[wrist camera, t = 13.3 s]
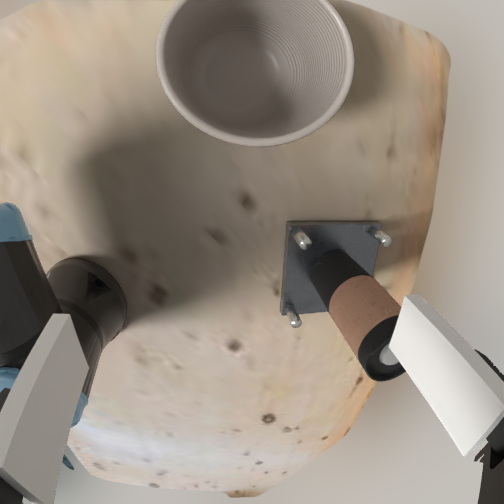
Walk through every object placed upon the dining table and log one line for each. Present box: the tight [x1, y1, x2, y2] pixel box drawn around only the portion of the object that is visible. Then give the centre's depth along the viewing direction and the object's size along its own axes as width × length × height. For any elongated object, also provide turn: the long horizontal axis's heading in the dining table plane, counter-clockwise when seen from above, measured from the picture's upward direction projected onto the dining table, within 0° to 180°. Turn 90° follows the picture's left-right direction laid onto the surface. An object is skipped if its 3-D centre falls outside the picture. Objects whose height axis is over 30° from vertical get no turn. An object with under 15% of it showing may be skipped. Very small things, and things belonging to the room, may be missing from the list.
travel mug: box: [311, 251, 406, 381], centre depth 37 cm, size 8×8×20 cm
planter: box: [156, 0, 355, 147], centre depth 28 cm, size 17×17×15 cm
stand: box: [280, 221, 392, 328], centre depth 45 cm, size 15×15×6 cm
